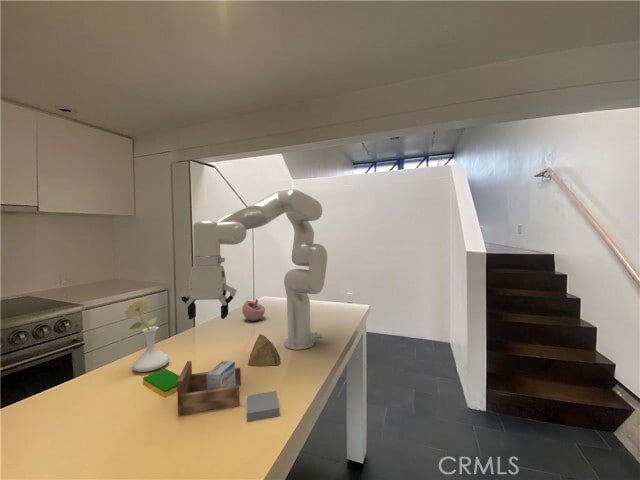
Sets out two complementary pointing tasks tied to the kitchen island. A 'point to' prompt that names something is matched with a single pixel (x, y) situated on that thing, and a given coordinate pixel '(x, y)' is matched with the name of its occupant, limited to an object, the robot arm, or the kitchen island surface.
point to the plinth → (262, 406)
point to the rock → (264, 353)
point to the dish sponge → (162, 382)
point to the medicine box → (221, 376)
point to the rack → (204, 393)
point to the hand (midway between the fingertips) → (208, 317)
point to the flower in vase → (151, 356)
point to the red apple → (253, 310)
